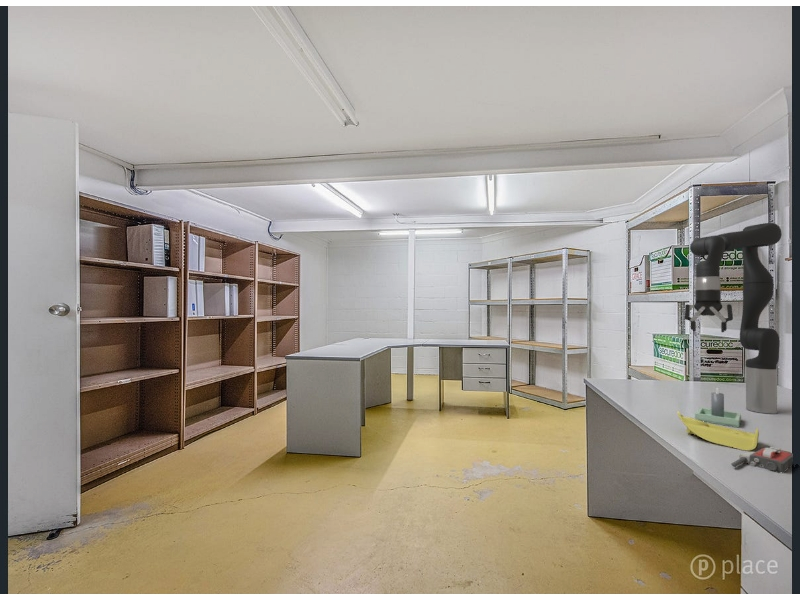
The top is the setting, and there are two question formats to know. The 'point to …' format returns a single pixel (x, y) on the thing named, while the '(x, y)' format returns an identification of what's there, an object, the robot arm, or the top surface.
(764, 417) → the top surface
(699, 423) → the plastic component
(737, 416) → the tray
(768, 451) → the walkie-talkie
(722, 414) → the grey bottle white cap
